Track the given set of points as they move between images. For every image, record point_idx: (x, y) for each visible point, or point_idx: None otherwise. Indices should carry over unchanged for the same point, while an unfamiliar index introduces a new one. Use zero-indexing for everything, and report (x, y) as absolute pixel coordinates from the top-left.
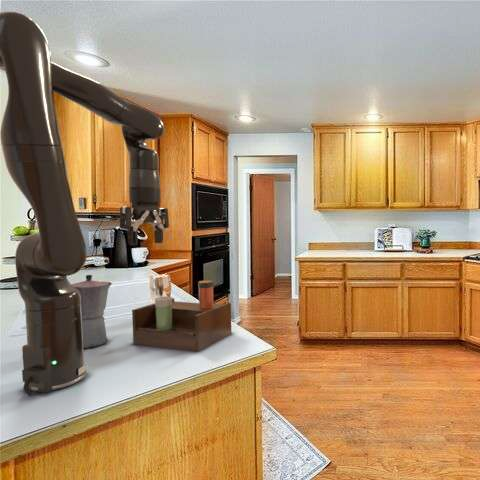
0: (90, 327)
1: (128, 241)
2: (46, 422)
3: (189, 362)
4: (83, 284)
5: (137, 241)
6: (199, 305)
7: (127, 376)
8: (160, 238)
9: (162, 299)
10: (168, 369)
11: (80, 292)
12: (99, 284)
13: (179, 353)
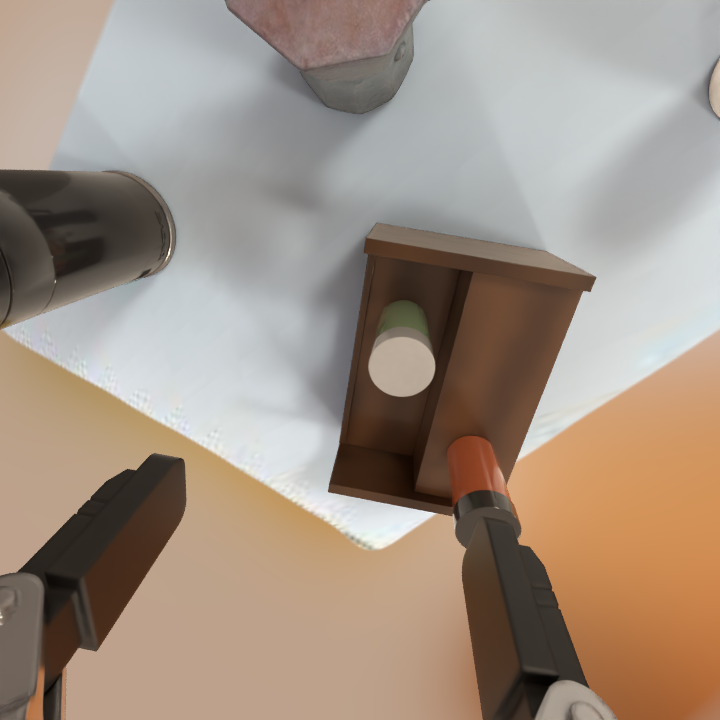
0: (315, 77)
1: (109, 485)
2: (36, 341)
3: (284, 435)
4: None
5: (164, 541)
6: (455, 447)
7: (195, 355)
8: (469, 613)
9: (378, 376)
10: (244, 413)
11: None
12: (320, 37)
13: (327, 392)
